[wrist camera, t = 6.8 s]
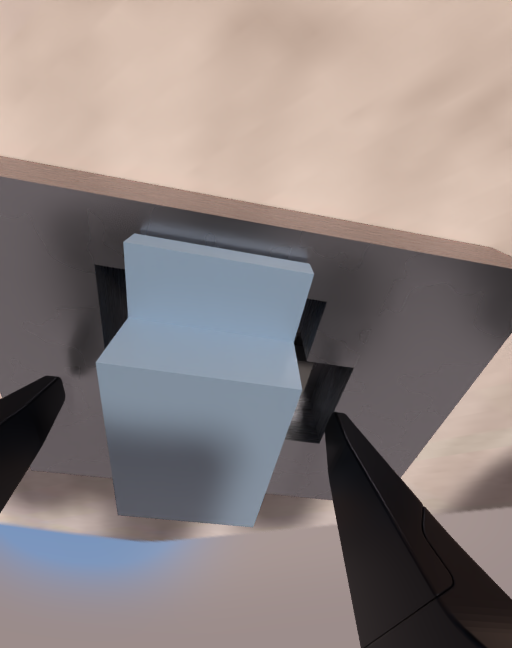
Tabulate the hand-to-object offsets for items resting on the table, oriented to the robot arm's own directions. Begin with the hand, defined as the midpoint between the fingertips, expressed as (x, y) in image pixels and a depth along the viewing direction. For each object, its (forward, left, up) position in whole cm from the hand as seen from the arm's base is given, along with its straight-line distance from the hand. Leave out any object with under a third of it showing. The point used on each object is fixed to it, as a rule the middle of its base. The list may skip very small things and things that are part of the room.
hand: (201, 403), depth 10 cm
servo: (0, 0, -3) cm, 3 cm away
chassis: (-1, 0, -3) cm, 3 cm away
